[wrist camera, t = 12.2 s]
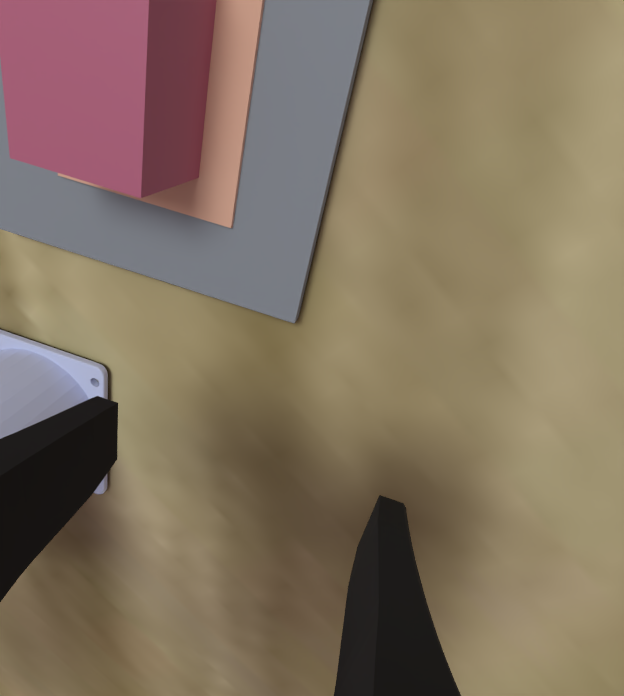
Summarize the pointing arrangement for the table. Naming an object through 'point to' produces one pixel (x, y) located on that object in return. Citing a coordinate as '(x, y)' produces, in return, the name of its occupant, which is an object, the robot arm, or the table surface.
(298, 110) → the mat
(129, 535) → the table surface
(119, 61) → the pink rectangular block
